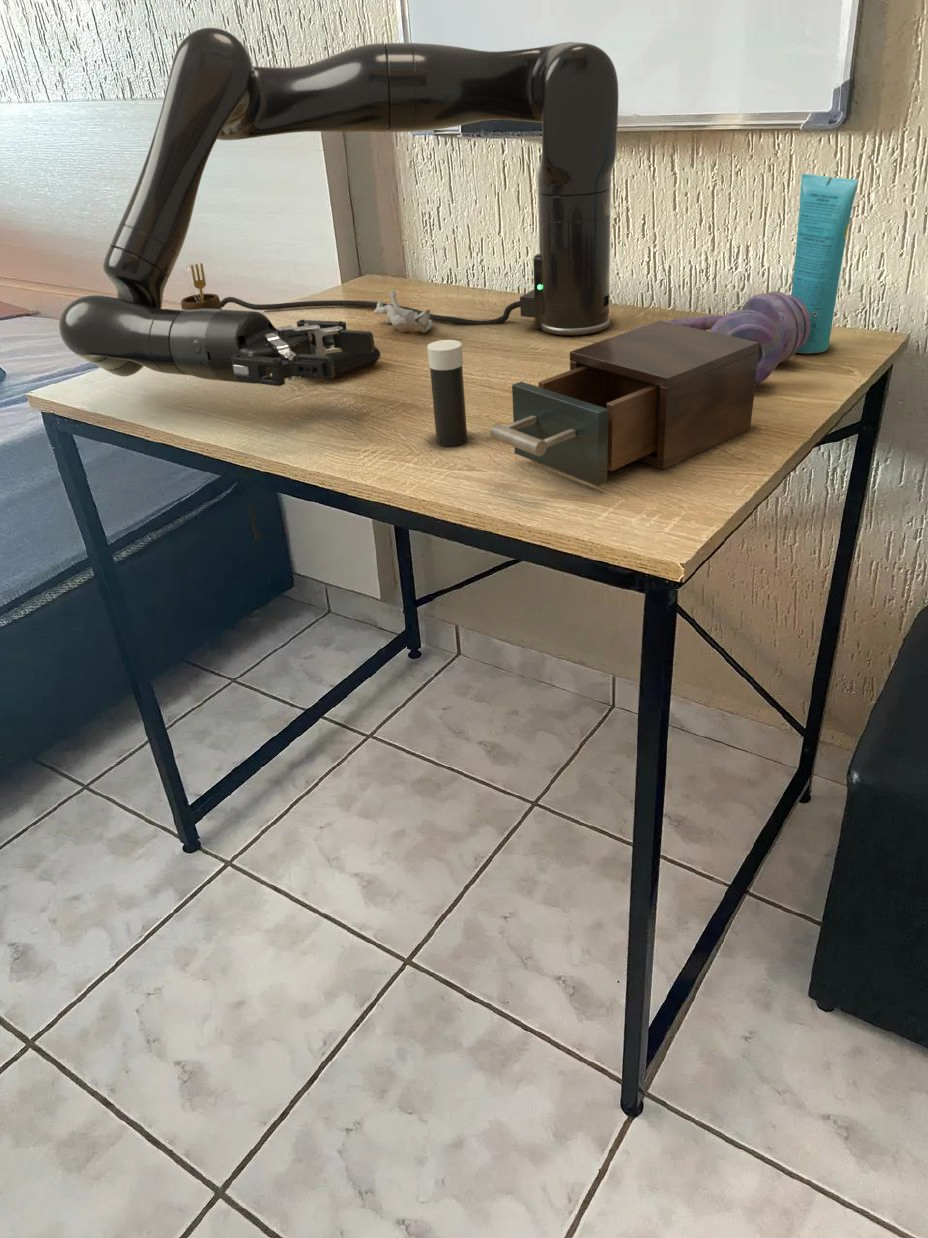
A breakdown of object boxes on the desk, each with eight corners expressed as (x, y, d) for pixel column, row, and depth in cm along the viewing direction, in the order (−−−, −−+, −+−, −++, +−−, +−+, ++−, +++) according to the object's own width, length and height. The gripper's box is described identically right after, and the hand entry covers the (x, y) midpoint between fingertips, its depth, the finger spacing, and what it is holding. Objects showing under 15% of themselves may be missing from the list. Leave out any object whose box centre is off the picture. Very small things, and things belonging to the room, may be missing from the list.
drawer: (556, 505, 81) (555, 429, 78) (474, 469, 89) (469, 399, 85) (686, 446, 90) (690, 375, 86) (601, 418, 97) (601, 352, 94)
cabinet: (663, 469, 88) (668, 378, 83) (570, 436, 96) (569, 351, 92) (750, 429, 95) (759, 342, 90) (656, 401, 103) (660, 320, 98)
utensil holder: (226, 340, 135) (208, 252, 128) (237, 351, 130) (219, 260, 123) (185, 348, 133) (164, 259, 126) (194, 359, 128) (173, 267, 121)
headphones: (822, 350, 111) (666, 356, 123) (820, 278, 108) (660, 291, 119) (766, 400, 99) (599, 401, 111) (762, 321, 95) (589, 330, 107)
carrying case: (252, 367, 123) (322, 389, 114) (248, 344, 121) (319, 364, 112) (317, 346, 129) (388, 365, 120) (313, 324, 127) (385, 341, 118)
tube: (845, 349, 113) (871, 175, 103) (821, 359, 111) (846, 181, 100) (791, 338, 118) (811, 170, 108) (768, 347, 116) (786, 177, 105)
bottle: (429, 444, 97) (420, 348, 92) (446, 432, 100) (438, 338, 94) (457, 449, 96) (450, 351, 90) (474, 436, 98) (468, 341, 93)
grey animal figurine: (410, 324, 139) (457, 311, 129) (398, 353, 138) (443, 342, 128) (369, 293, 134) (414, 277, 125) (356, 322, 134) (400, 309, 124)
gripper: (266, 359, 110) (388, 368, 104) (191, 400, 100) (323, 414, 94) (254, 293, 106) (381, 299, 100) (174, 329, 95) (311, 339, 90)
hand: (353, 355), depth 97 cm, fingers open, 8 cm apart
